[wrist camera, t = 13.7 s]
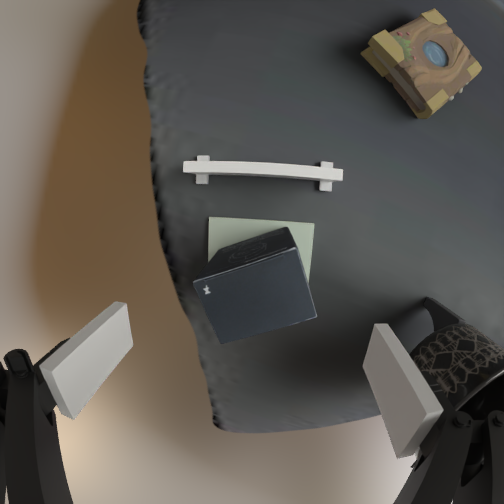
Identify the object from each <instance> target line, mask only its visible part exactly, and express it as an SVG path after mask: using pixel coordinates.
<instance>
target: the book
mask: <svg viewBox="0 0 504 504" xmlns="http://www.w3.org/2000/svg"><path fill="white" fill-rule="evenodd" d="M446 22H447V20H446V19H445V18H444V17H443V16H442V15H441V14H440V13H439V12H438V11H437V10H436V9H435V8H434V9H432V10H430V11H428V12H425V13H422V14H421V15H420V16H419V17H418V18H417V19H415V20H413V21H411V22H409V23H407V24H405V25H403V26H401V27H399V28H397V29H395V30H393V31H391V32H389V33H388V32H387V31H386V30H383V31H381V32H380V33H378V34H376V35H374V36H372V38H371V39H370V40H369V42H368V44H369V45H370V47H369V48H367V49H365V50H364V51H362V52H361V55H362V56H363V57H364V58H365V59H366V60H367V61H368V62H369V63H370V64H371V65H372V66H373V67H374V69H375V70H376V71H377V72H378V73H379V74H380V75H381V76H382V77H385V78H386V79H387V80H388V81H389V82H392V84H393V86H394V88H395V89H396V91H397V92H398V93H399V94H400V95H401V96H402V98H403V99H404V100H406V103H407V104H408V105H409V107H410V108H411V109H412V111H413V112H414V113H415V115H416V116H417V118H419V119H427V118H429V117H430V116H431V115H432V114H433V113H434V112H436V111H437V110H438V109H439V108H440V107H441V106H443V105H444V104H445V103H446V102H447V101H451V100H453V98H454V95H455V94H456V93H458V94H460V93H461V92H462V90H463V87H464V86H465V85H467V84H468V82H470V81H471V80H472V79H473V78H474V77H475V76H476V75H477V74H478V73H479V72H480V71H481V69H482V67H481V66H480V65H479V63H478V62H477V61H476V59H475V58H474V57H473V56H472V55H470V51H469V50H468V48H467V47H466V46H465V45H464V44H463V42H462V41H461V40H460V39H459V38H458V37H456V36H455V34H454V33H453V31H452V29H451V28H450V27H448V26H447V24H446Z"/></svg>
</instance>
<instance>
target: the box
mask: <svg viewBox="0 0 504 504" xmlns="http://www.w3.org/2000/svg"><path fill="white" fill-rule="evenodd" d="M193 285H194V287H195V290H196V292H197V294H198V296H199V299H200V301H201V303H202V305H203V308H204V310H205V312H206V314H207V316H208V319H209V321H210V323H211V325H212V327H213V330H214V332H215V334H216V336H217V338H218V340H219V342H220V343H221V344H223V343H227V342H231V341H235V340H239V339H243V338H247V337H250V336H254V335H258V334H261V333H265V332H269V331H272V330H275V329H279V328H282V327H286V326H289V325H292V324H296V323H299V322H302V321H305V320H309V319H312V318H315V317H317V313H316V309H315V305H314V302H313V298H312V295H311V291H310V287H309V284H308V281H307V277H306V274H305V270H304V267H303V263H302V260H301V257H300V253H299V250H298V247H297V245H296V243H295V241H294V239H293V236H292V234H291V232H290V230H289V228H288V227H283V228H280V229H277V230H274V231H271V232H268V233H264V234H262V235H259V236H256V237H253V238H250V239H247V240H244V241H241V242H238V243H235V244H232V245H229V246H226V247H223V248H221V249H218V251H217V252H216V253H215V255H214V256H213V257H212V258H211V260H210V261H209V262H208V264H207V265H206V266H205V267H204V269H203V270H202V271H201V272H200V274H199V275H198V276H197V278H196V279H195V280H194V281H193Z"/></svg>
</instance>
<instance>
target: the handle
mask: <svg viewBox="0 0 504 504" xmlns="http://www.w3.org/2000/svg"><path fill="white" fill-rule="evenodd" d="M183 172H185V173H191V174H196V184H208V182H209V175H239V176H261V177H278V178H292V179H305V180H316V181H320V183H319V190H321V191H331V189H332V182H335V181H342V179H343V169H334V168H333V163H330V162H321V164H320V167H315V166H305V165H293V164H279V163H261V162H235V161H210V156H197V161H184V165H183Z"/></svg>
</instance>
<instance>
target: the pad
mask: <svg viewBox="0 0 504 504" xmlns="http://www.w3.org/2000/svg"><path fill="white" fill-rule="evenodd" d="M283 227H288V228H289V230H290V232H291V234H292V236H293V239H294V241H295V243H296V245H297V247H298V250H299V253H300V257H301V260H302V263H303V267H304V270H305V274H306V277H307V281H308V282H309V273H310V264H311V254H312V244H313V233H314V223H304V222H291V221H276V220H260V219H243V218H224V217H209V244H208V262H209V261H210V260H211V258H212V257H213V256H214V255H215V253H216V252H217V251H218V249H221V248H223V247H226V246H229V245H232V244H235V243H238V242H241V241H244V240H247V239H250V238H253V237H256V236H259V235H262V234H264V233H268V232H271V231H274V230H277V229H280V228H283Z"/></svg>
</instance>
